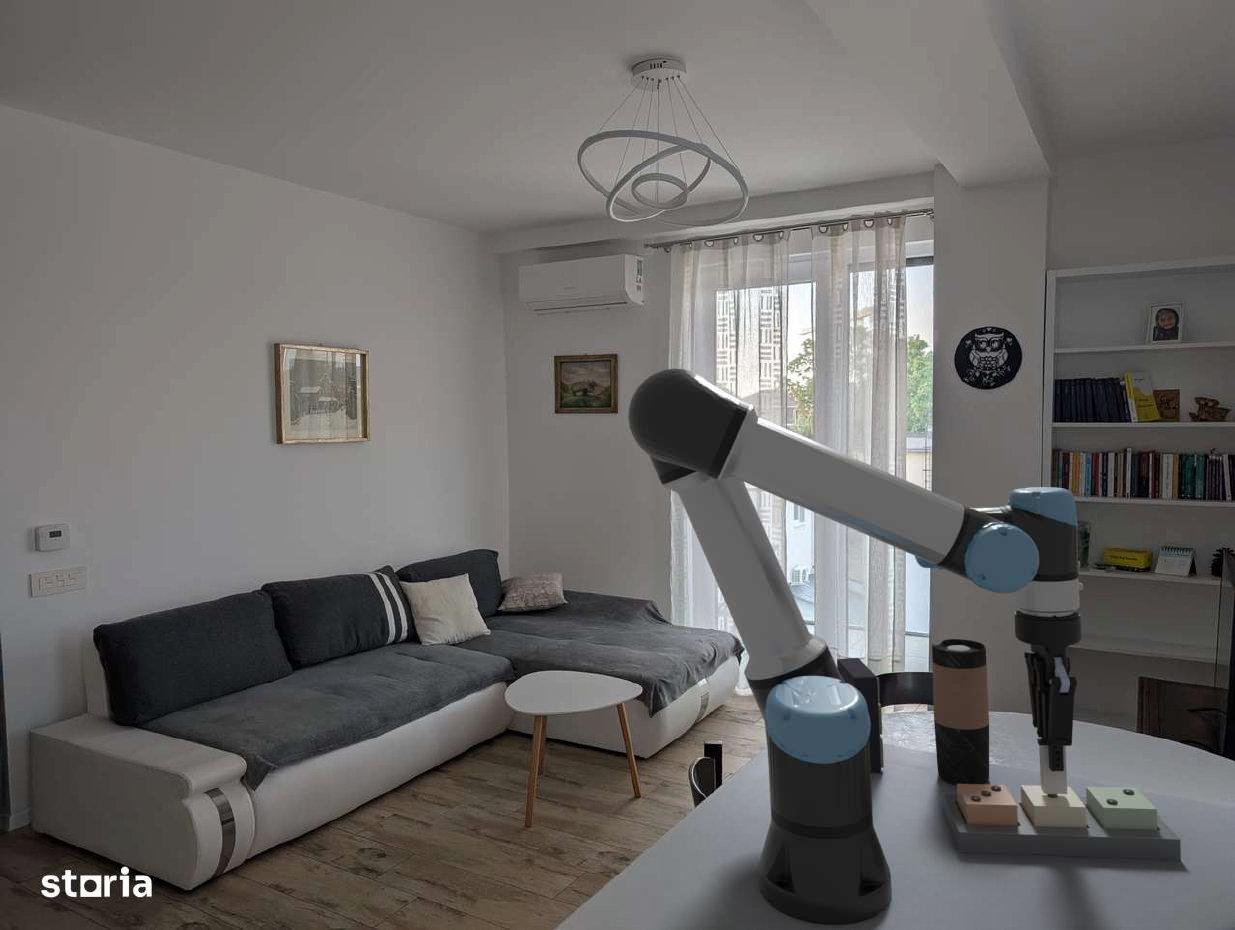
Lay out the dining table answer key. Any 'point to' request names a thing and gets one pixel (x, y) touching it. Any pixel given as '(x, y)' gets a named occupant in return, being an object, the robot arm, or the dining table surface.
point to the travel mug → (961, 711)
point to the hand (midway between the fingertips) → (1054, 791)
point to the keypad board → (1060, 837)
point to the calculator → (869, 688)
